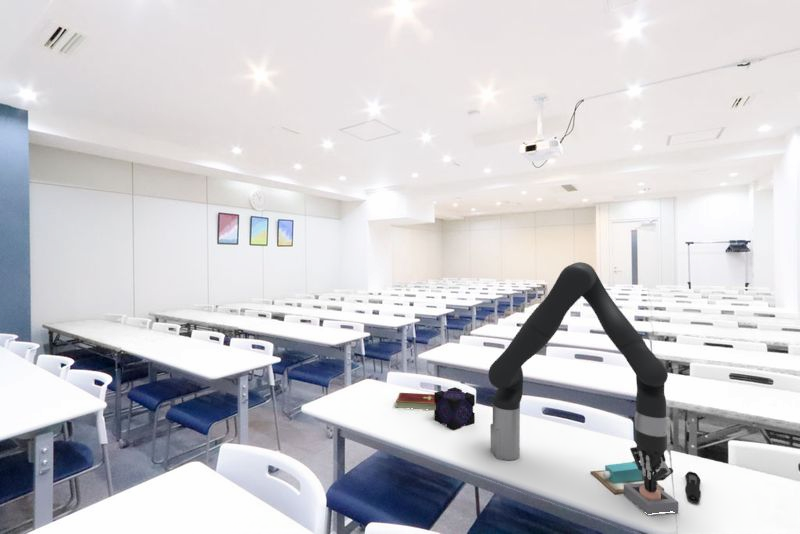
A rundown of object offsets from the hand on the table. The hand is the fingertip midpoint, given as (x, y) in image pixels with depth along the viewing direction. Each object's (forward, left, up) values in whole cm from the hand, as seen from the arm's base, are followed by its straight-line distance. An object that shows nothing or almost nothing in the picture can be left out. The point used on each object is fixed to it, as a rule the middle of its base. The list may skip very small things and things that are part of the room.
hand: (650, 490), depth 104 cm
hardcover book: (-51, +79, -4) cm, 94 cm away
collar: (0, 0, -4) cm, 4 cm away
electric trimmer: (+18, +4, -4) cm, 19 cm away
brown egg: (0, 0, -3) cm, 3 cm away
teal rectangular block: (+1, +11, -3) cm, 11 cm away
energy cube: (-40, +59, -4) cm, 71 cm away
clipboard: (+1, +11, -4) cm, 11 cm away
